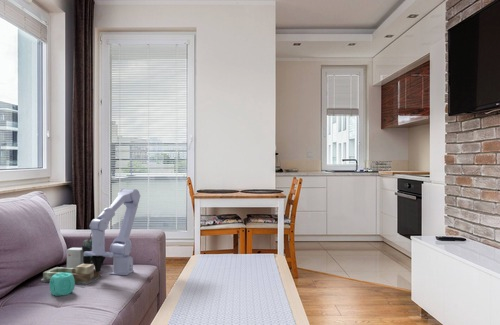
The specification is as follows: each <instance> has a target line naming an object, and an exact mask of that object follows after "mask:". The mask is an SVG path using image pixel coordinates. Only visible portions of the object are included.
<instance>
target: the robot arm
mask: <svg viewBox="0 0 500 325" xmlns="http://www.w3.org/2000/svg"><path fill="white" fill-rule="evenodd" d="M140 198H141V194H140V191H139V190H138V189H134V188H133V189H131V188H121V189H120V190H119V191H118V192H117V196H116V198H115V199H114V200H113V202H112V203H111V204H110V206H109V207H105V208H103V210H102V212H100V214H98V216H97V217H96V218H93V219H92V220H91V221H90V223H89V229H90V231H91V233H92V234H91V233H90V234H91V239H92V251H85V252H84V256H92V258H91V260H92V262H93V264H94V269H95V270H96V272H99V271H100V272H101V270H102V266H103V263H104V261H105V260H106V258H113V259H112V260H113V264H112V267H113V270H112V272H109V275H118V276H119V275H120V276H127V275H130V274H131V273H133V272H134V270H133V269H134V259H133V257H132V256H130V255H131V252H132V244H133V243H132V241H131V239H130V237H131V236H130V235H131V232H132V229H133V225H134V221H135V217H136V213H137V212H138V211H137V210H138V208H139V207H138V206H139V202H140ZM122 205H125V207H126V208H125V209H126V210H125V212H124V215H123V219H122V224H121V225H120V229H119V233H118V236H117V237H115V238H114V239H113V241H112V243H111V244H110V247H109V251H105V249H106V248H105V247H106V243H105V241H106V236H105V234H106V233H105V232H106V230H107V229H108V227H109V226H108V225H109V223H110V221H111V220H112V219H113V218H114V217H115V215H116V211H117V210H118V209H119V208H120V207H121V206H122Z"/></svg>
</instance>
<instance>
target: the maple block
mask: <svg viewBox="0 0 500 325" xmlns="http://www.w3.org/2000/svg"><path fill="white" fill-rule="evenodd" d="M94 269H95V266H94V264H81V265H79V266H76V274H90V278H92V277H93V276H94Z"/></svg>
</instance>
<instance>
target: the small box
mask: <svg viewBox="0 0 500 325" xmlns="http://www.w3.org/2000/svg"><path fill="white" fill-rule="evenodd" d="M81 264H84V263H83V250H82V247H70V248H67V249H66V268H76V266H79V265H81Z"/></svg>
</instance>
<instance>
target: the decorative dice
mask: <svg viewBox="0 0 500 325" xmlns="http://www.w3.org/2000/svg"><path fill="white" fill-rule="evenodd" d="M75 285H76V284H75V281H74V277H73V275H72V274H71V273H58V274H55V275H53V276H52V277H51V279H50V282H49V290H50V293H51V295H52V296H54V295H55V296H56V297H62V296H61V295H63V296H67V294H68V295H70V294H72V293H73V291H74V290H75Z"/></svg>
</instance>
